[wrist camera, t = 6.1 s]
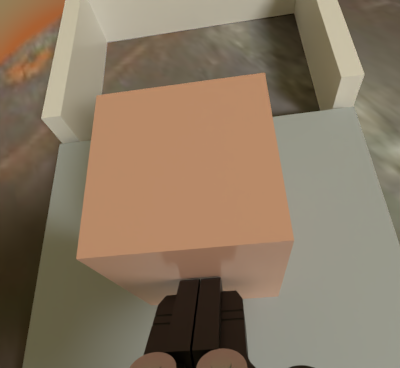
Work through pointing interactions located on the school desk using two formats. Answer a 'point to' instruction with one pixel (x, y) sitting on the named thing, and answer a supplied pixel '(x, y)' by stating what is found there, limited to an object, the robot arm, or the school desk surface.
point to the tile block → (186, 190)
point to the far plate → (253, 307)
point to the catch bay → (179, 21)
